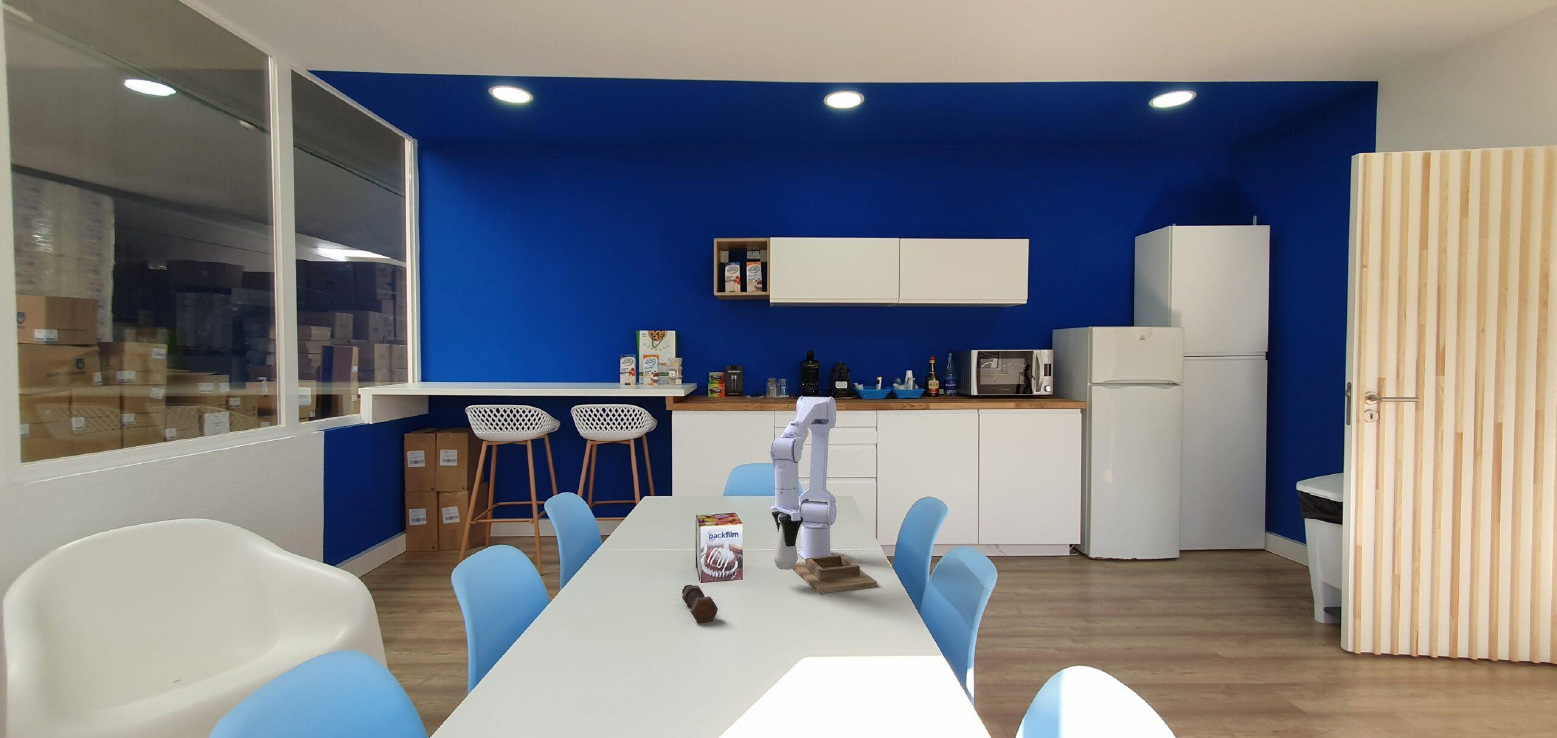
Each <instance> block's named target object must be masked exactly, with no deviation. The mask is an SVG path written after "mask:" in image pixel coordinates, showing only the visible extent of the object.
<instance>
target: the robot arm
mask: <svg viewBox="0 0 1557 738" xmlns="http://www.w3.org/2000/svg"><path fill="white" fill-rule="evenodd" d="M795 411H796V414H797V415H796V417H795V419H794V420H791V421H790V422H789V423H788V424H787V426H786V427H785V429H784V430H783V432H782V434H781V435H780V437H776V438H775V439H773V440H772V442H771V445H770V453H769V454H770V458H771V460H772V464H771V465H772V469H774V505H771V506H770V510H771V511H772V512H771V515H772V517H773V519H774V522H775V525H776V528H777V533H779V528H780V523H781V525H782V528H783V532H784V540H785V544H786V547H790V546H795V543H796V542H797V538H798V535H800V550H797V555H798V556H800V557H801V558H803V560H805V561H806V558H813V557H823V556H832V554H831V526H833V525H834V523H836V520H837V512H838V511H837V505H836V503H837V502H836V501H837V500H836V497H835V495H833V494H832V493H831V492H830V490H828V489H827V482H828V481H827V480H828V479H827V476H828V461H829V460H828V458H829V457H828V456H829V455H828V454H829V439H830V437H829V436H830V431H831V429H833V428H835V427H836V420H837V404H836V400H835V398H834V397H833V396H829V397H827V396H825V397H824V396H802V395H801V396H799V398H798V399H797V401H796V409H795ZM809 429H810V430H809ZM809 431H811V438H810V439H811V440H810V459H809V472H808V473H809V474H808V475H809V478H808V488H807V490H805V491H804V492H802V493H801V494H800V493H799V492H800V491H799V490H800V488H799V462H800V460H801V459H802V454H803V450H804V443H805V441H806V440H807V438H808V437H809V434H810V433H809ZM820 500H821V501H820ZM781 513H786V514H787V517H779V520H780V523H779V522H778V515H780V514H781ZM799 530H800V534H799ZM796 544H797V543H796Z"/></svg>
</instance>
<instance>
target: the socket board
mask: <svg viewBox="0 0 1557 738" xmlns="http://www.w3.org/2000/svg"><path fill="white" fill-rule="evenodd" d="M831 555H832V554H831ZM792 570H793V571H794V572H795V573H796V574H797V575H798V576H799V577H800V578H801V579H802V580H803V581H805V583H806V584H807V585H808V586H810V588H812V590H814V591H815V592H816V594H818V595H819V594H827V593H836V592H844V591H851V590H860V589H868V588H875V587H877V588H878V584H877V583H878V582H877V580H876V579H874V578H873V577H871V576H870V575H869V574H867V573H866V572H865V571H864V570H861V567H860V565H859V564H857V563H856V562H854V561H853V560H852V559H851V558H849V557H848V556H847V555H845V554H836V555H834V554H833V555H832V556H823V557H813V558H806V560H805V561H801V562H796V564H795V566H794V569H792Z"/></svg>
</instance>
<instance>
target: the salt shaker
mask: <svg viewBox="0 0 1557 738" xmlns="http://www.w3.org/2000/svg"><path fill="white" fill-rule="evenodd" d="M779 517H787V514H786V513H781V514H780V515H778V522H779V523H780V520H779ZM777 533H778V532H777ZM796 544H797V543H795V546H790V547H786V544H785V540H784V532H783V528H782V525H781V523H780V528H779V533H778V534H777V538H776V543H775V547H774V553H773V561H774V563H775V566H776V568H777V569H780V570H784V571H785V570H786V571H790V570H793V569H794V566H795V564H796V563H798V562H797V561H798V559H799V557H798V556H799V554H798V553H797V552H798V550H797V545H796Z"/></svg>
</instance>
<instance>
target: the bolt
mask: <svg viewBox="0 0 1557 738" xmlns="http://www.w3.org/2000/svg"><path fill="white" fill-rule="evenodd" d="M681 594H682V596H681V598H682V600H683V602H684V603H685V605H686V606H687V608H690V611H689V612H690V614H691V615H692V617H693V619H694V620H695V621H696V623H697V624H708V623H710V622H713V620H714V619H715V617H716V615H717V613H718V610H719V609H718V606H717V605H716V603H715V602H714V600H713V598H712V597H711V596H706V595H705V594H704V592H703V591H702V589H701V587H700V586H699V585H693V584H687V585H685V586H683V588H682V590H681Z"/></svg>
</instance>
